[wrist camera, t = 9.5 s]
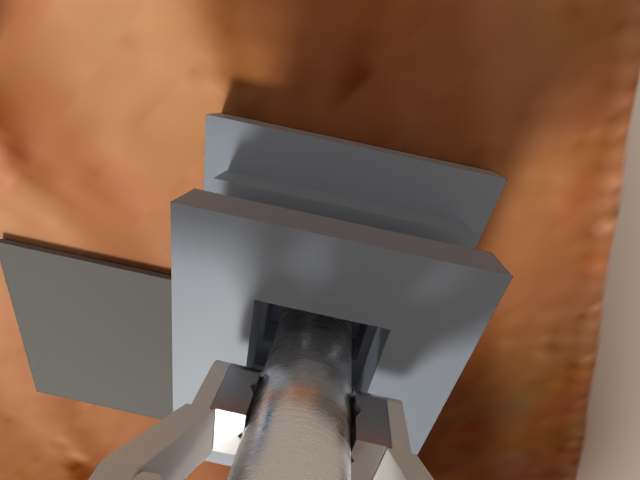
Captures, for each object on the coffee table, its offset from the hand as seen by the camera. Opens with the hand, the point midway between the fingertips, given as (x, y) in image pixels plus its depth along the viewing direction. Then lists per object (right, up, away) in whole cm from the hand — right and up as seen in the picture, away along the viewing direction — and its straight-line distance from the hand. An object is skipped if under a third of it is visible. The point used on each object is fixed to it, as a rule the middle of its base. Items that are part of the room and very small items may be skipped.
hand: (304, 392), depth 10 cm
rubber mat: (-12, -2, +10) cm, 16 cm away
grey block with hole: (+1, +3, +6) cm, 7 cm away
